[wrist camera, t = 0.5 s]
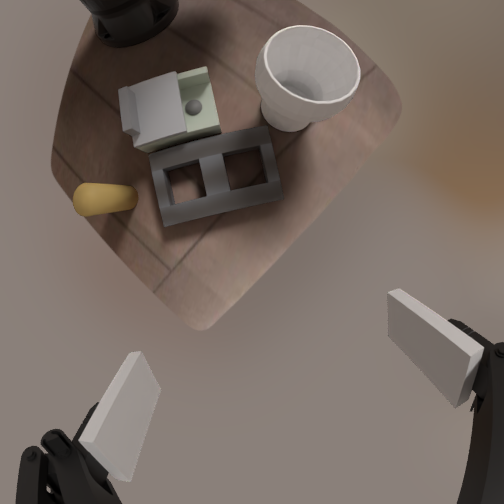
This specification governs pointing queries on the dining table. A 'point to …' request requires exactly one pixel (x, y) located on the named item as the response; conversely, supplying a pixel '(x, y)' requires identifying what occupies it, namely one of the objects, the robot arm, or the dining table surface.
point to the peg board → (215, 175)
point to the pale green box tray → (193, 110)
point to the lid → (152, 109)
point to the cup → (305, 77)
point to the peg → (103, 198)
